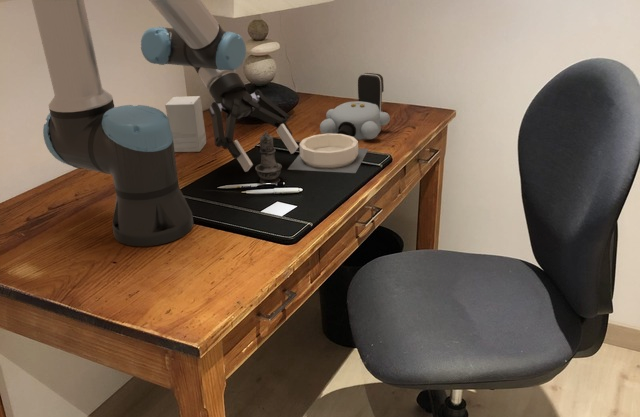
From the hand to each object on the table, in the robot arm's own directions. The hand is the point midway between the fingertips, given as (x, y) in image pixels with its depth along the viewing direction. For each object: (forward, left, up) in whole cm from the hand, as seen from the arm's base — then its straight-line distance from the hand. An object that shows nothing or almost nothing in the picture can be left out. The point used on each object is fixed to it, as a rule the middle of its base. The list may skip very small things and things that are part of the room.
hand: (272, 159), depth 146 cm
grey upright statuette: (0, +1, -6) cm, 6 cm away
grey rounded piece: (+34, -11, -6) cm, 36 cm away
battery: (+54, -12, -6) cm, 55 cm away
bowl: (+15, -9, -5) cm, 18 cm away
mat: (+15, -9, -5) cm, 18 cm away
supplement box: (+19, +29, -6) cm, 35 cm away
